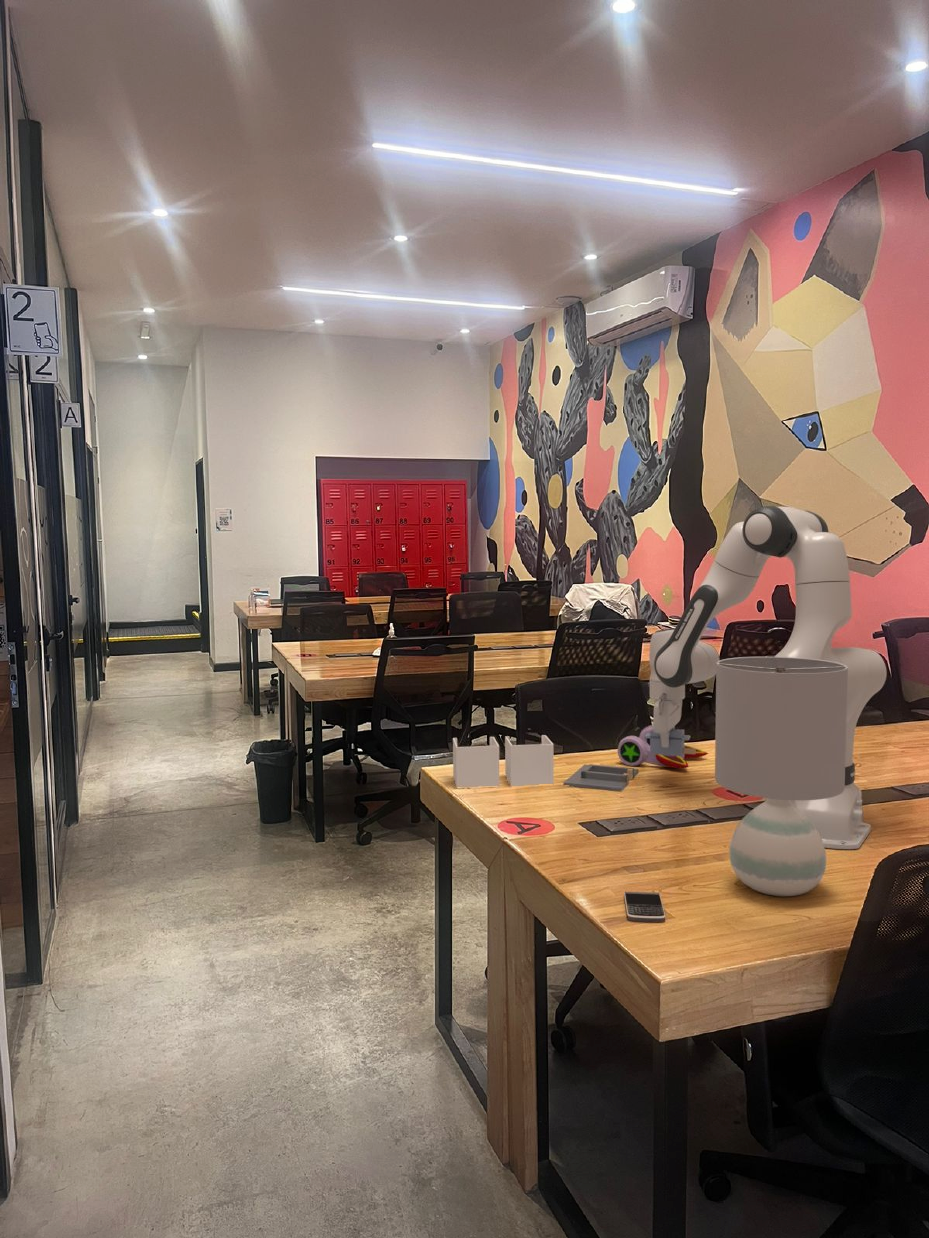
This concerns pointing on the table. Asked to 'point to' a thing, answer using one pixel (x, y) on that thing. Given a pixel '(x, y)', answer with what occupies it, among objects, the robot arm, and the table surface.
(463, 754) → the double compartment bin
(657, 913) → the cell phone
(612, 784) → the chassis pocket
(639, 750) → the headphones
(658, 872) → the table surface
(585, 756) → the table surface
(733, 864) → the lamp
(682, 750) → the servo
